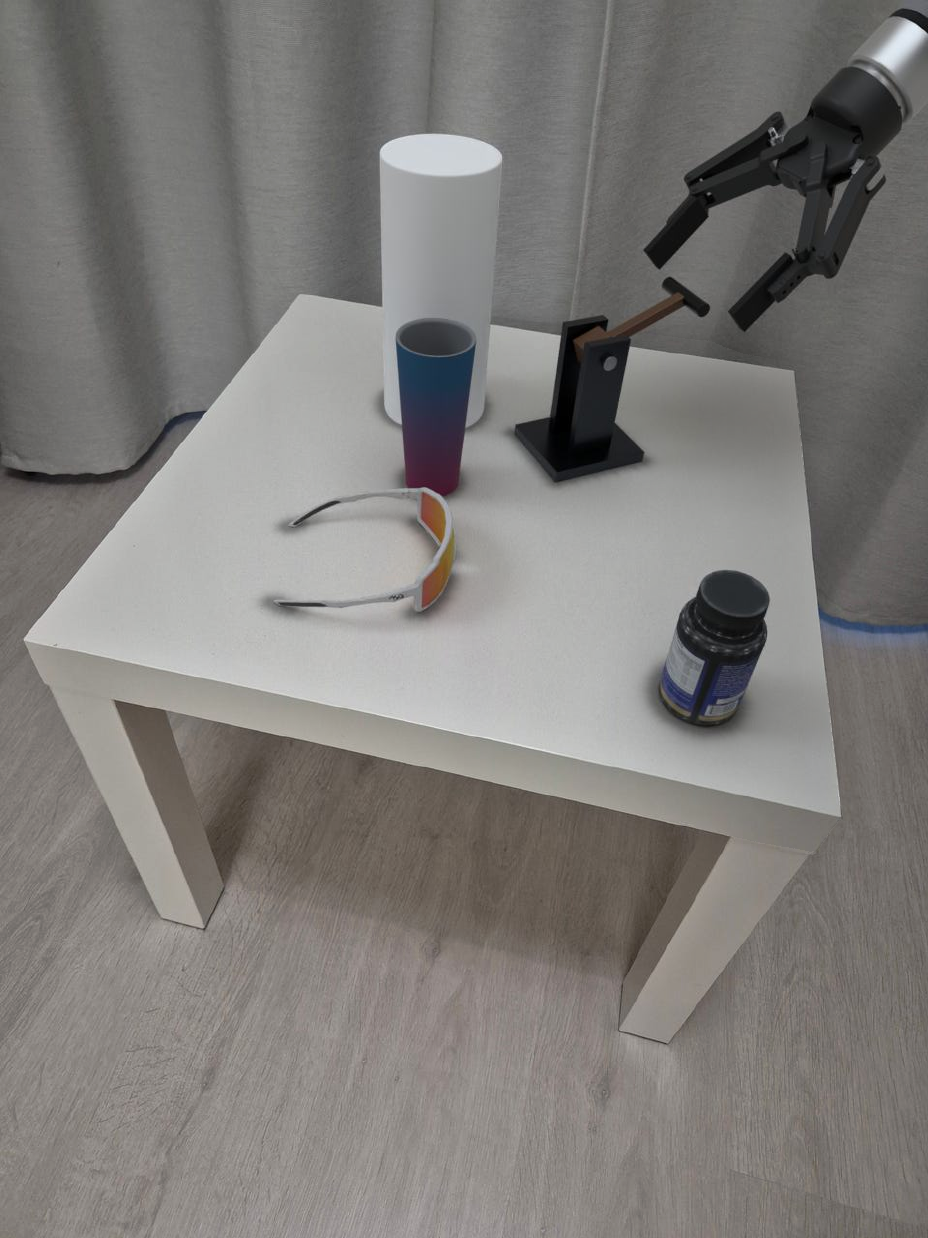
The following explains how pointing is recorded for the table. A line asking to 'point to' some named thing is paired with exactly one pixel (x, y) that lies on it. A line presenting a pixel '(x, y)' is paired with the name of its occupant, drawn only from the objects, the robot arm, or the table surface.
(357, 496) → the sunglasses
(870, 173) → the robot arm
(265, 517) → the table surface
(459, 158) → the tall pillar cylinder
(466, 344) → the cup
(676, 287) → the lever
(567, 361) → the bracket
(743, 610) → the pill bottle
